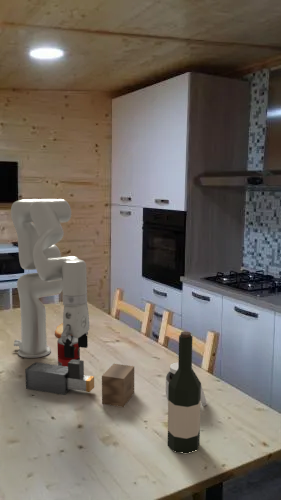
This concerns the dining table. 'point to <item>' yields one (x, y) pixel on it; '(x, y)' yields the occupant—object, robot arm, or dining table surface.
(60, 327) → the slice of bread
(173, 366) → the white mug
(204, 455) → the dining table surface
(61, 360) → the canned food
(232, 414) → the dining table surface
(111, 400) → the socket block
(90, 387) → the steel bar
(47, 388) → the sleeve
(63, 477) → the dining table surface
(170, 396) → the wine bottle
